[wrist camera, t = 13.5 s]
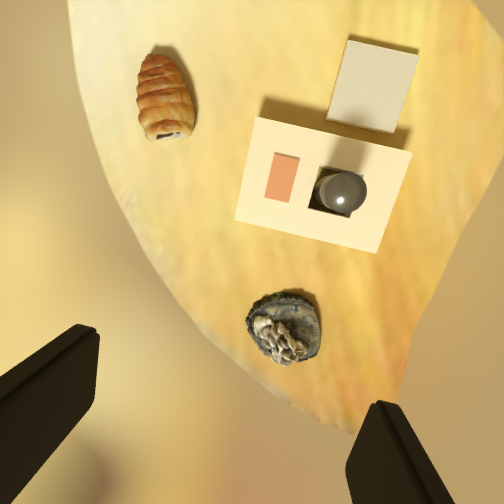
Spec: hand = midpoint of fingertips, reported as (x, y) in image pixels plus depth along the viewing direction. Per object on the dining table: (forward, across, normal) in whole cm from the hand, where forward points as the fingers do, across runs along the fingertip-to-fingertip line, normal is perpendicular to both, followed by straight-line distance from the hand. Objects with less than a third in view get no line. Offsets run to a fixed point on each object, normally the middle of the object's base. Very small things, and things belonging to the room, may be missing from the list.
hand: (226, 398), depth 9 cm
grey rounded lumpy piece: (+29, -6, +12) cm, 32 cm away
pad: (+28, -8, -20) cm, 36 cm away
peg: (+28, -7, -8) cm, 30 cm away
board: (+28, -5, -8) cm, 30 cm away
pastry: (+29, +16, -13) cm, 35 cm away
